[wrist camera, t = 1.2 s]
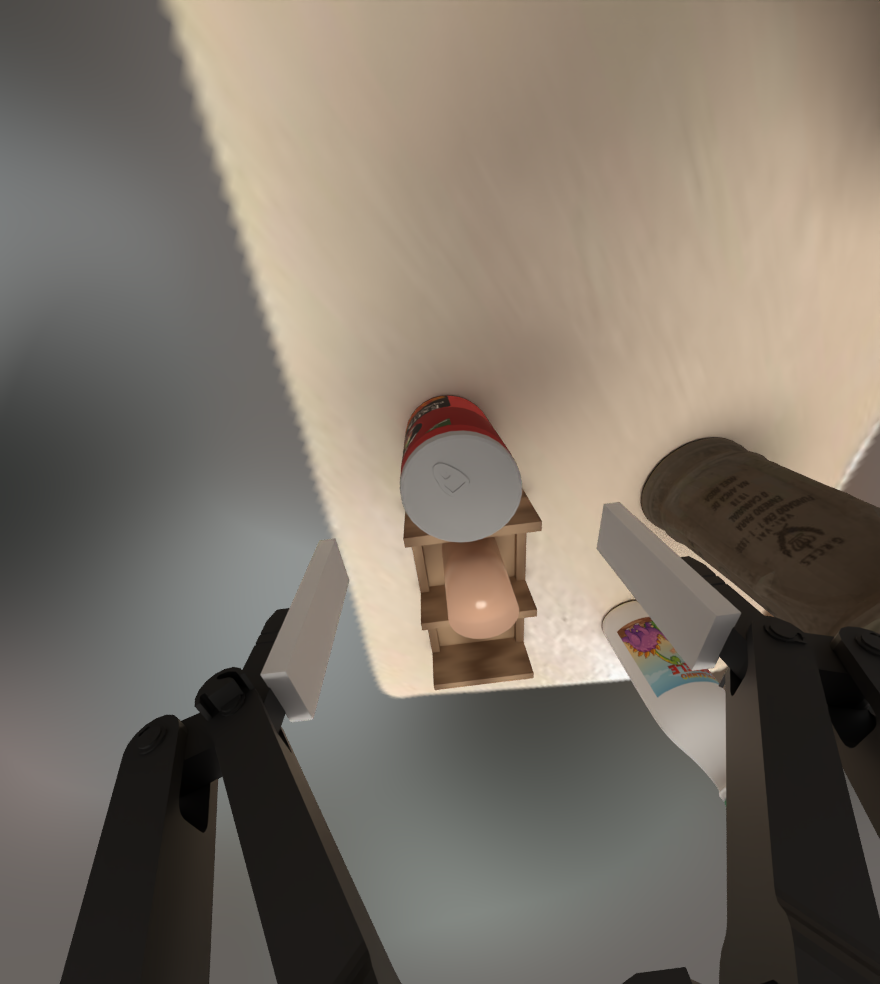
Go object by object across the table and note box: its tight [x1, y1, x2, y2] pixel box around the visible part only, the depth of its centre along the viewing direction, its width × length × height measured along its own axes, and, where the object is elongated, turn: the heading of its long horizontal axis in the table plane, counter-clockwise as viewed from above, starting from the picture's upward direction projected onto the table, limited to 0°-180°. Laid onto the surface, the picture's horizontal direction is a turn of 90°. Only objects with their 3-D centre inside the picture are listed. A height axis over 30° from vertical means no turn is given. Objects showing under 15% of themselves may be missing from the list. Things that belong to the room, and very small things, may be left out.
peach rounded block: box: [442, 537, 519, 639], centre depth 31 cm, size 6×6×9 cm
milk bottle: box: [603, 601, 726, 805], centre depth 35 cm, size 8×8×20 cm
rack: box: [403, 489, 542, 690], centre depth 36 cm, size 12×23×6 cm, turn 6°
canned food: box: [400, 396, 522, 542], centre depth 25 cm, size 8×8×11 cm
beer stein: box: [641, 438, 880, 637], centre depth 26 cm, size 15×11×20 cm
